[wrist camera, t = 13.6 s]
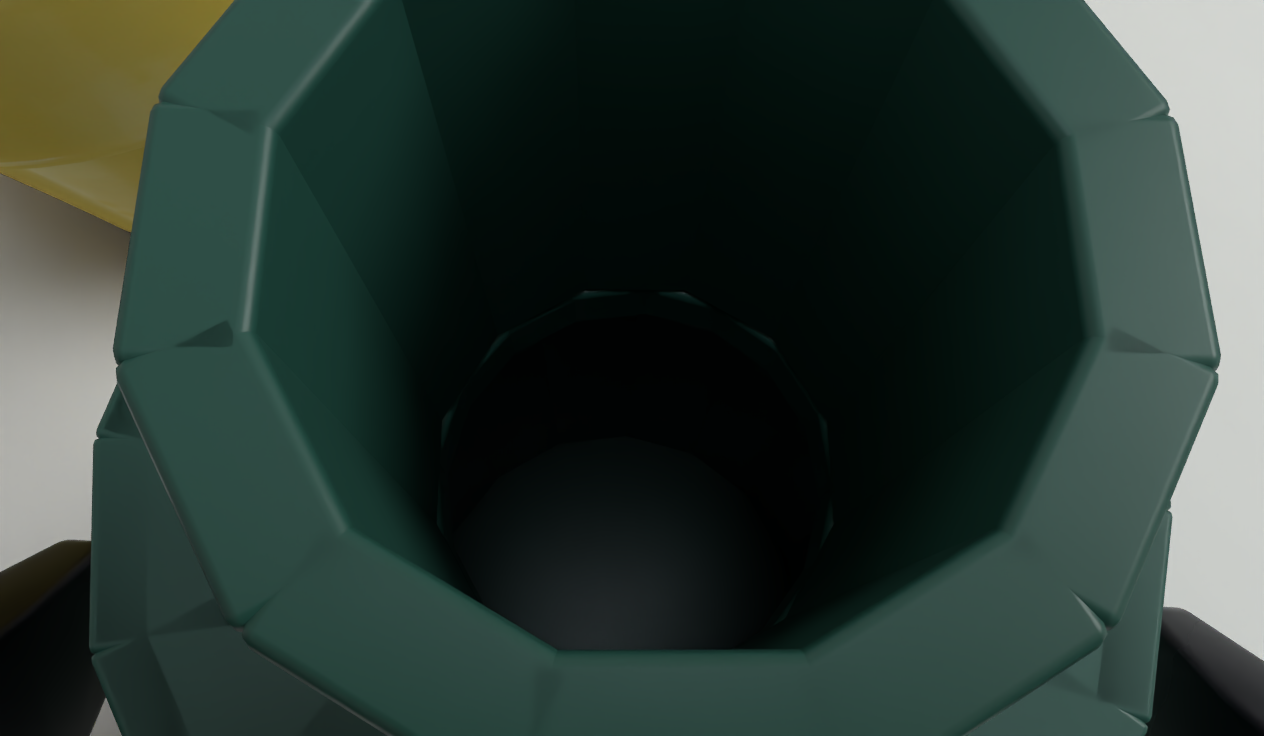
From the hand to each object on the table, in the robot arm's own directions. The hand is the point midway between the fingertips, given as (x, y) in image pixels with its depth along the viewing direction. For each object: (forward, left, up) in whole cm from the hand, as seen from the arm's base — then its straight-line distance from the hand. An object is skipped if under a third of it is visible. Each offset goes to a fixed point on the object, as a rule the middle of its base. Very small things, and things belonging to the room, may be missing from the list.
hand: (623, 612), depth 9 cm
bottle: (0, 0, -8) cm, 8 cm away
